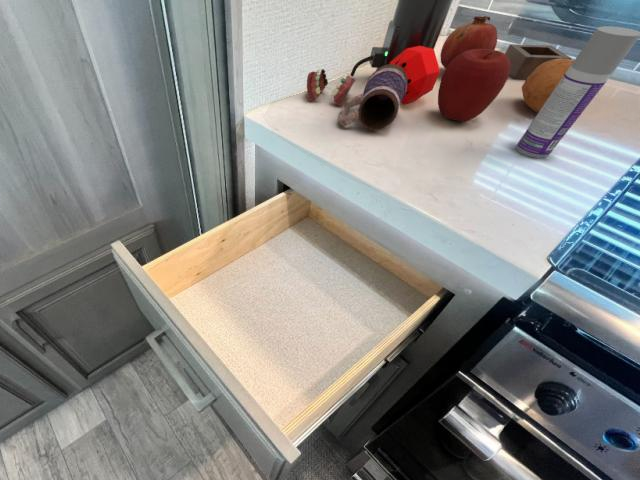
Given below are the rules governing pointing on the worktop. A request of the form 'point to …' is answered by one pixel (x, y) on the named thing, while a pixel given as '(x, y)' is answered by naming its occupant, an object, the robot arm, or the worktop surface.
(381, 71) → the mug
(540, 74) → the potato
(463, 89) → the apple
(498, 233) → the worktop surface
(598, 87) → the container
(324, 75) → the dentures
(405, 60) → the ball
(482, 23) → the fruit
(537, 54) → the socket
